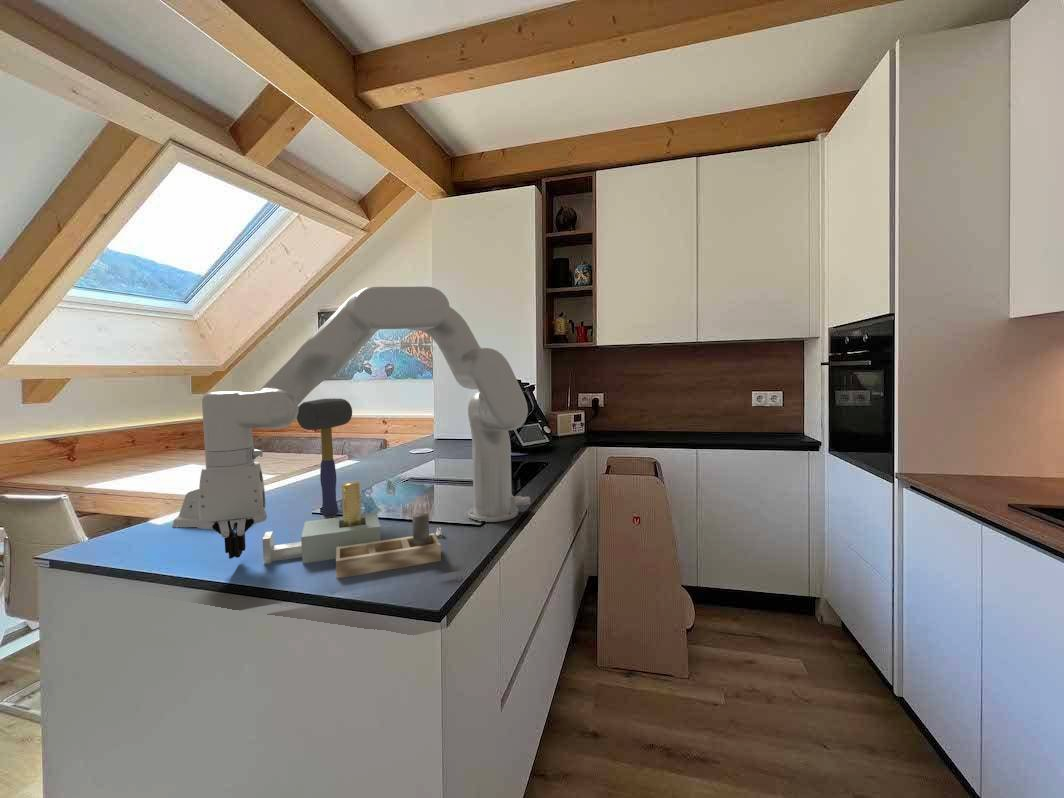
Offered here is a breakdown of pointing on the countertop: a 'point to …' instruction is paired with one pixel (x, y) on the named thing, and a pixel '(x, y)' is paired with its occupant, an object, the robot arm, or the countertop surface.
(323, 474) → the rubber mallet
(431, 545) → the rack
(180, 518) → the grey rounded block
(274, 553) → the t-shaped push slider
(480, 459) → the robot arm
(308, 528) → the socket block
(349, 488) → the gold cylindrical peg
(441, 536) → the adhesive hook
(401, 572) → the countertop surface
